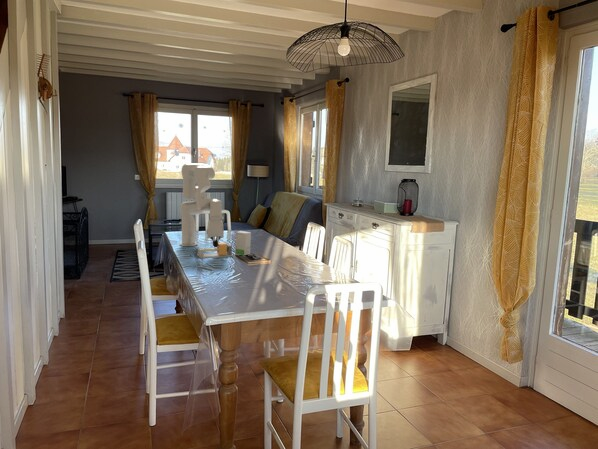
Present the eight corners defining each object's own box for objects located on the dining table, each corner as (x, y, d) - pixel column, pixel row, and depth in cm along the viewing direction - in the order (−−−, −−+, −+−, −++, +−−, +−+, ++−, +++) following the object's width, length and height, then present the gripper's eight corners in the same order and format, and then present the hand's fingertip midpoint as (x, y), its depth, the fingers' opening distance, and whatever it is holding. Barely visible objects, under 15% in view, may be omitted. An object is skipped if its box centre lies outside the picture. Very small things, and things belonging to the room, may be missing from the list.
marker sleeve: (217, 253, 296) (217, 243, 295) (224, 253, 298) (224, 242, 297) (219, 255, 291) (219, 244, 290) (226, 254, 293) (226, 244, 292)
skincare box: (234, 255, 296) (235, 231, 294) (240, 253, 302) (240, 230, 300) (245, 256, 293) (245, 233, 290) (250, 254, 298) (251, 231, 296)
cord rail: (197, 255, 292) (197, 245, 292) (228, 253, 302) (229, 243, 301) (200, 258, 283) (200, 248, 283) (233, 256, 293) (233, 246, 292)
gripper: (225, 218, 296) (225, 245, 298) (202, 218, 290) (202, 246, 292) (228, 219, 289) (228, 247, 291) (205, 220, 283) (205, 248, 285)
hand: (215, 246), depth 292 cm, fingers closed
